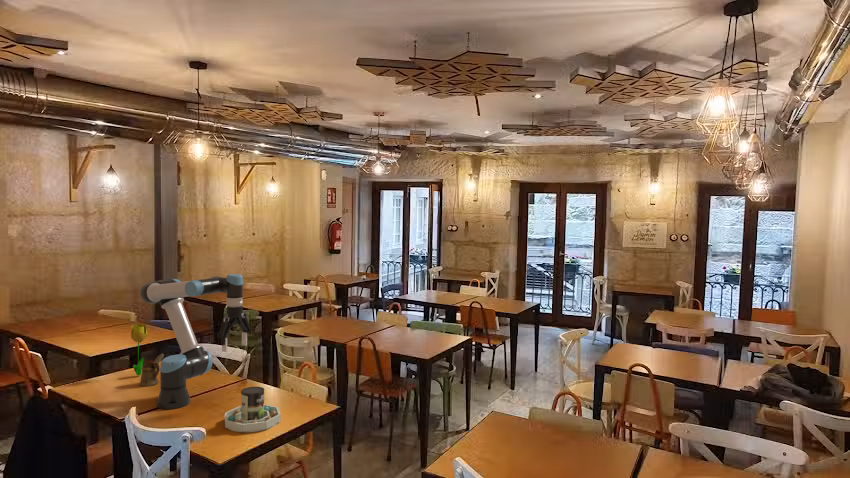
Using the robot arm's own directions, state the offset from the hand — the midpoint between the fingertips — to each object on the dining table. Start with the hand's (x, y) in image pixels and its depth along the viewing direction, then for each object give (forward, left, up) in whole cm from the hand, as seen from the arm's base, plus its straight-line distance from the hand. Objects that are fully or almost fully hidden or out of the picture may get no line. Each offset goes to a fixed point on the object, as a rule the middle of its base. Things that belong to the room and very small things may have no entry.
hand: (234, 348), depth 270 cm
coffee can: (+22, -12, -28) cm, 38 cm away
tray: (+22, -12, -29) cm, 38 cm away
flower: (-80, +10, -29) cm, 86 cm away
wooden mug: (-62, +4, -29) cm, 69 cm away
